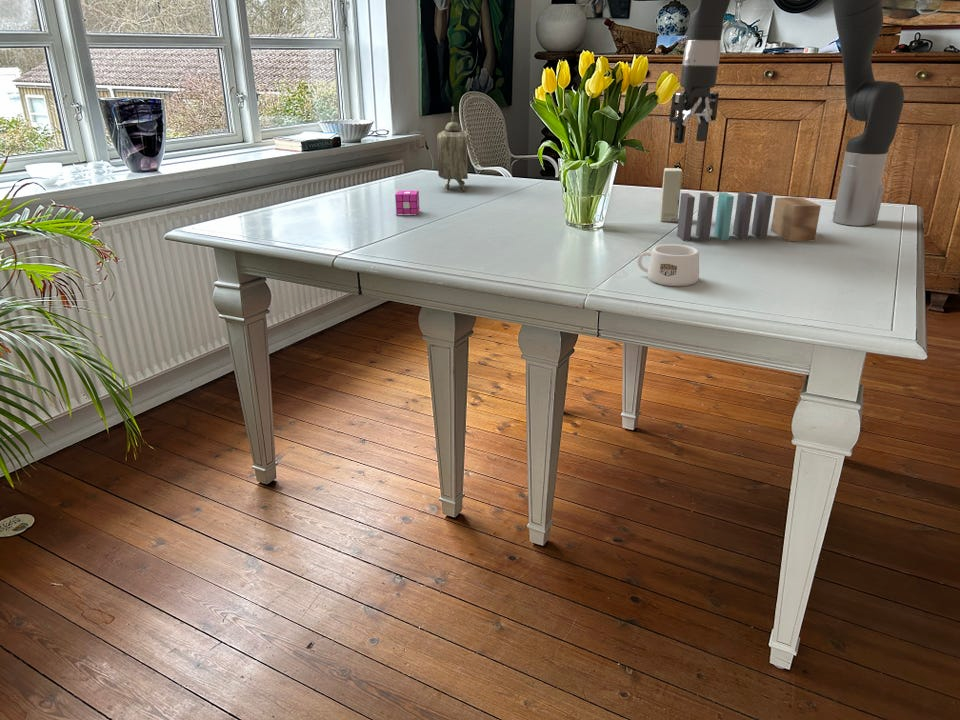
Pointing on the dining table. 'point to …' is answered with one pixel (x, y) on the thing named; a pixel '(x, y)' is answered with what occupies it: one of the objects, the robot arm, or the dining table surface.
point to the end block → (795, 218)
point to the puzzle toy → (407, 202)
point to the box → (670, 194)
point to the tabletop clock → (452, 153)
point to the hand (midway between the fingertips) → (690, 142)
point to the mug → (672, 265)
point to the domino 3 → (723, 216)
